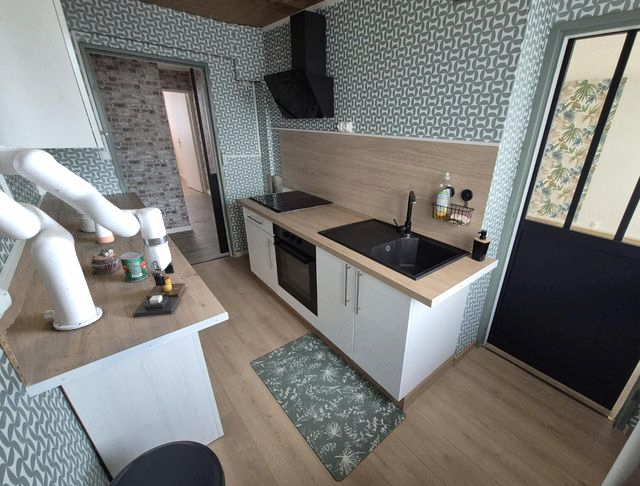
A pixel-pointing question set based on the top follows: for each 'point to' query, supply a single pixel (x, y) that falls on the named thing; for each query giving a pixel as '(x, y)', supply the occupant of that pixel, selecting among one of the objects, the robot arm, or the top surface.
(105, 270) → the cupcake
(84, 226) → the jar
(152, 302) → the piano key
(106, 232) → the salt shaker
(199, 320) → the top surface
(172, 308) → the dark gray stepped base
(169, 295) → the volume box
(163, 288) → the yellow rounded cylinder
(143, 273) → the canned tomato
